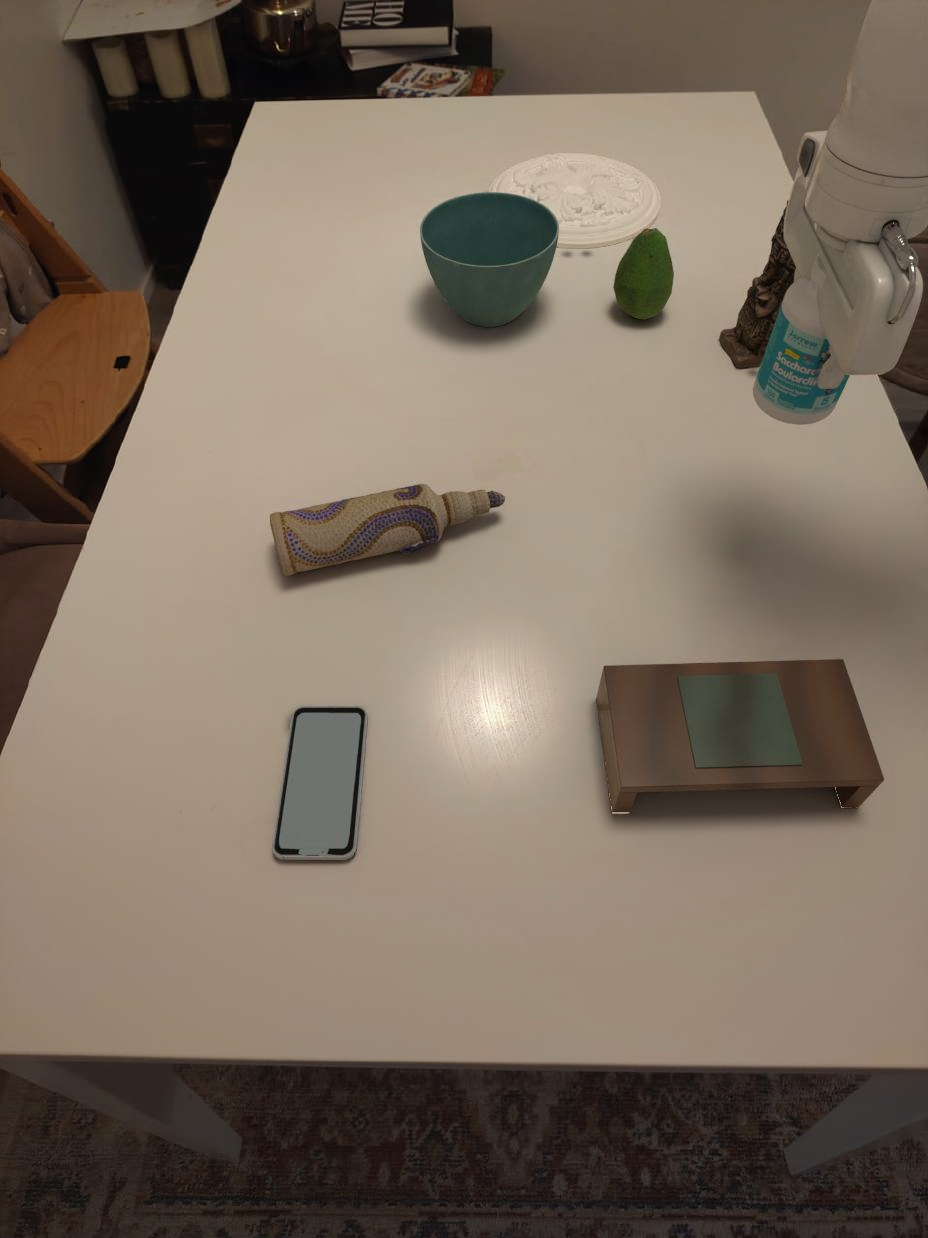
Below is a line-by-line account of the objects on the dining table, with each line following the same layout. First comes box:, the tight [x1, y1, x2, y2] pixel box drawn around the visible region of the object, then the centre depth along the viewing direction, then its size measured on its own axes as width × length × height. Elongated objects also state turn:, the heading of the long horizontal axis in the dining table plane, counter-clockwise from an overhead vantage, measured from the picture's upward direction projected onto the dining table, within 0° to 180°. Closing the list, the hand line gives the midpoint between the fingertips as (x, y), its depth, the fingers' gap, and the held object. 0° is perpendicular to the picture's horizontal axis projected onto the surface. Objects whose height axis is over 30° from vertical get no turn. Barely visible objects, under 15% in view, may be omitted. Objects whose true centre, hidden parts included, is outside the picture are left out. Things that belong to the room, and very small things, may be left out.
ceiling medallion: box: [487, 152, 662, 250], centre depth 133 cm, size 28×28×3 cm
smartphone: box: [271, 705, 369, 861], centre depth 75 cm, size 7×1×15 cm
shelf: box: [595, 658, 885, 813], centre depth 74 cm, size 22×12×6 cm, turn 91°
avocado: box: [612, 227, 675, 320], centre depth 112 cm, size 8×8×12 cm
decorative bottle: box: [269, 483, 506, 576], centre depth 90 cm, size 26×8×7 cm, turn 105°
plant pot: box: [419, 191, 559, 328], centre depth 113 cm, size 18×18×12 cm
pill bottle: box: [752, 257, 851, 426], centre depth 70 cm, size 8×7×14 cm
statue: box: [718, 199, 796, 369], centre depth 103 cm, size 7×7×20 cm
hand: (811, 349), depth 71 cm, fingers closed on pill bottle, 7 cm apart
